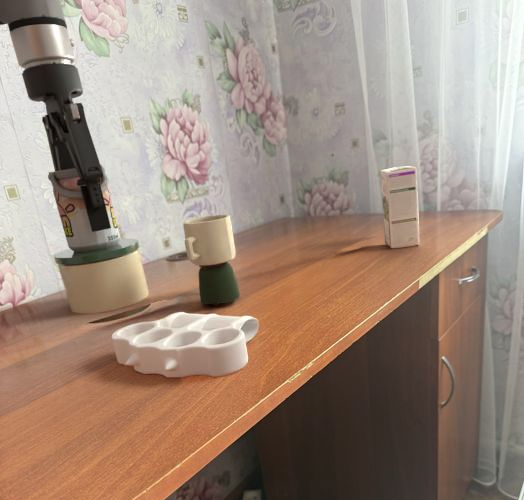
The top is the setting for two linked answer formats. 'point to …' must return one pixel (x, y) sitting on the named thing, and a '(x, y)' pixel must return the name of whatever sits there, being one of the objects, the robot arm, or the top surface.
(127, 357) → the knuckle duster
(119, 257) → the jar
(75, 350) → the top surface
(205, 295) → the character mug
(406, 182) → the syrup box
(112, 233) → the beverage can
